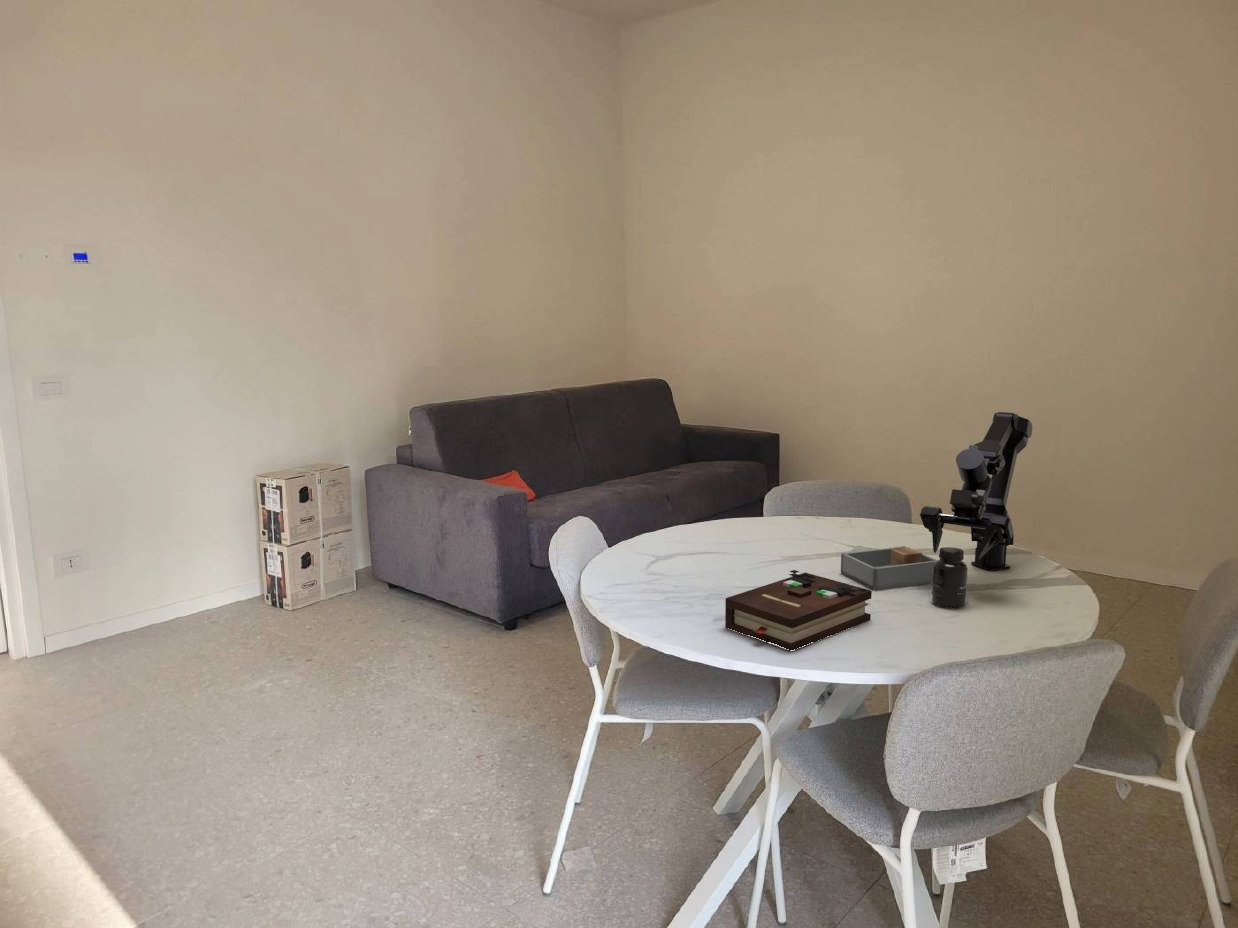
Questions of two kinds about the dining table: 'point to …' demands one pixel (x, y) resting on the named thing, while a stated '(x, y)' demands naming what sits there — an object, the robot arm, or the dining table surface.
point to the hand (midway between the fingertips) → (956, 554)
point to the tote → (885, 569)
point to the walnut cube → (905, 556)
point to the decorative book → (797, 610)
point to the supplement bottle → (950, 579)
